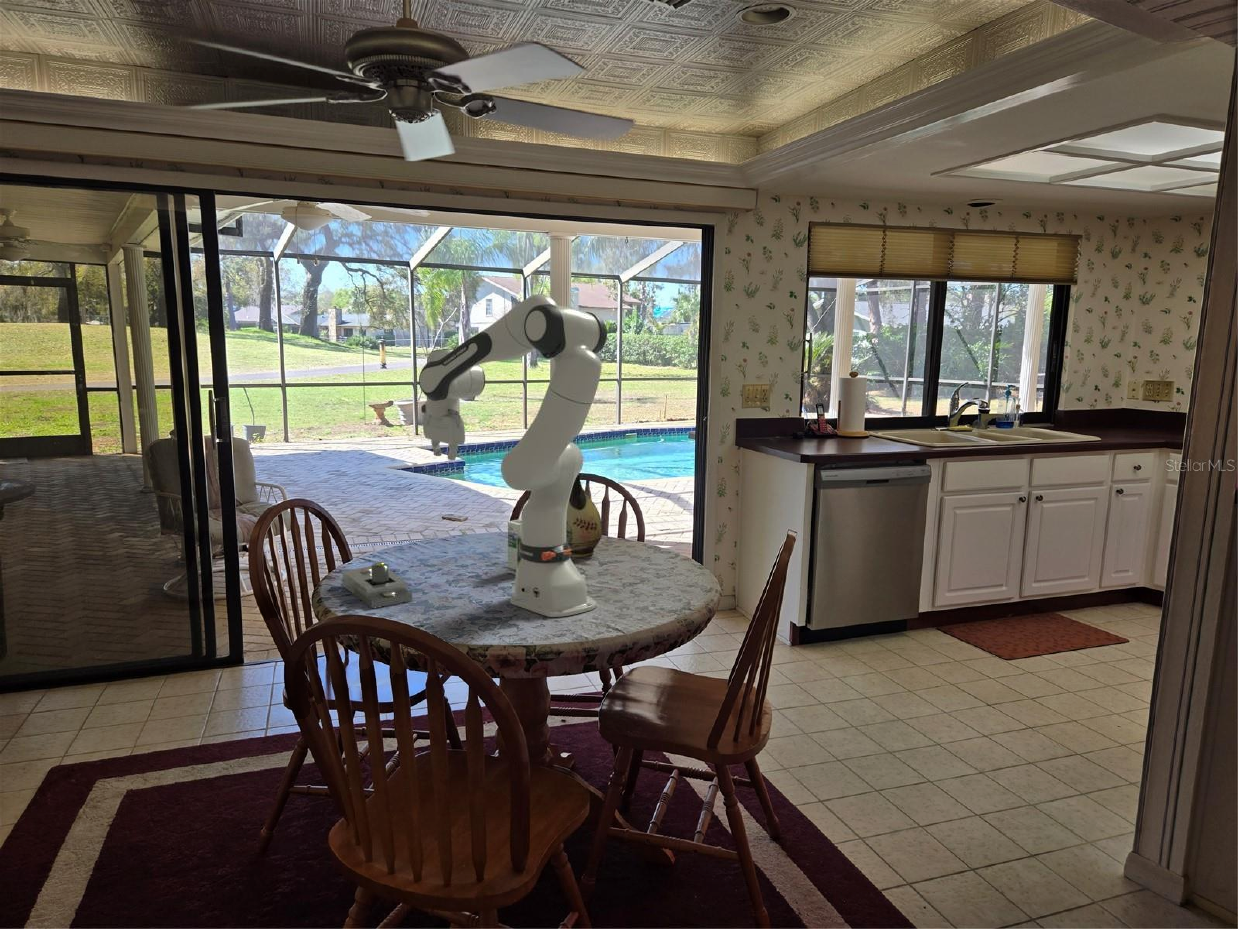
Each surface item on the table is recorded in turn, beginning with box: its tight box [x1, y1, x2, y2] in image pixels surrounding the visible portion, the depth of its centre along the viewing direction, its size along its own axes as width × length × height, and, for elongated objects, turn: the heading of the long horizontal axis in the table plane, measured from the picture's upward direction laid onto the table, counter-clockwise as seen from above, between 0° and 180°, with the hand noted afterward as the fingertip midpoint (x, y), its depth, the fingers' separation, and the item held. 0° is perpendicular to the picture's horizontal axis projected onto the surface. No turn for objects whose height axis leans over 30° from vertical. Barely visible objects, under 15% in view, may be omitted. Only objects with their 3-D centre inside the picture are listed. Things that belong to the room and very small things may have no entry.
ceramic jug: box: [566, 471, 603, 558], centre depth 231 cm, size 17×15×30 cm
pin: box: [370, 561, 389, 586], centre depth 192 cm, size 4×4×9 cm
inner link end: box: [353, 588, 413, 609], centre depth 191 cm, size 13×10×3 cm
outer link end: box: [341, 566, 408, 598], centre depth 196 cm, size 19×10×5 cm, turn 37°
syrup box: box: [507, 519, 522, 576], centre depth 213 cm, size 6×6×14 cm
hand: (444, 457), depth 215 cm, fingers open, 8 cm apart
